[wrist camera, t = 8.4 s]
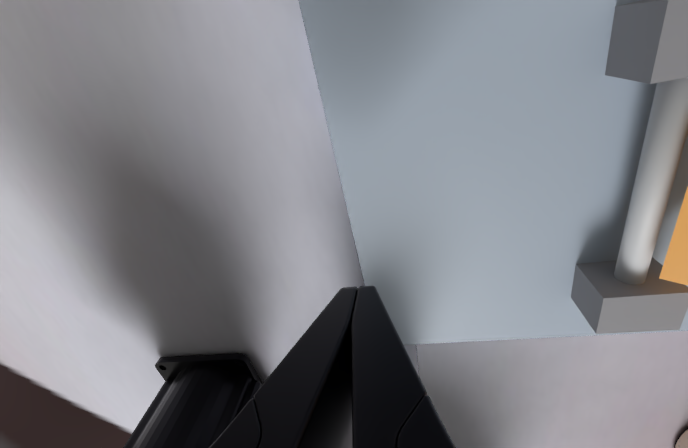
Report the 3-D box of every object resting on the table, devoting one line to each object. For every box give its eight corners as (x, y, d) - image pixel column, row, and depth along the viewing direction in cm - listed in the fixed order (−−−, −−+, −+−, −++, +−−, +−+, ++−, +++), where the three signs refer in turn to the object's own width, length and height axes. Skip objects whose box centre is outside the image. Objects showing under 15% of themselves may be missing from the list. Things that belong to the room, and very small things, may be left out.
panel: (379, 307, 17) (377, 381, 14) (313, -6, 11) (275, -26, 7) (806, 275, 14) (958, 364, 10) (1094, -224, 7) (1831, -490, 4)
